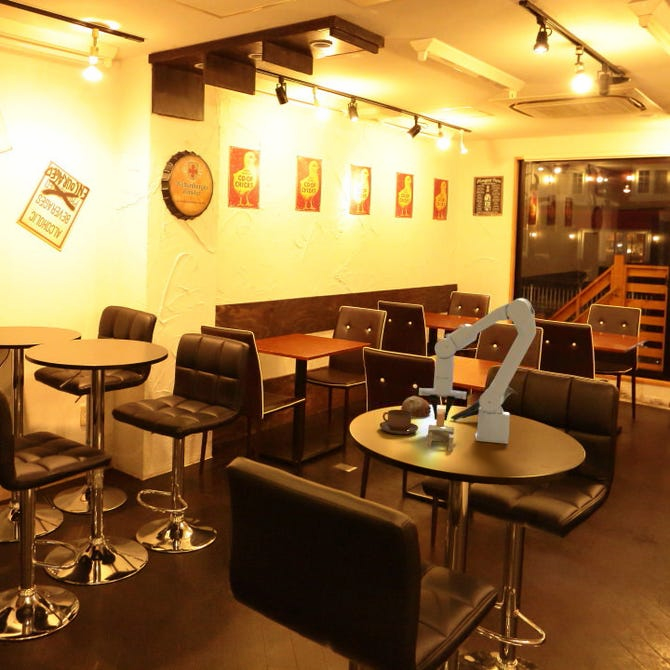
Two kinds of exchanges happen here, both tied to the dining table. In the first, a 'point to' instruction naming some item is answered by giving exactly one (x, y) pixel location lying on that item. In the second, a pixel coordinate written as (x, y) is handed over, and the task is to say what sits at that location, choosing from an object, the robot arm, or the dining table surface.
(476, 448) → the dining table surface
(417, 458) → the dining table surface
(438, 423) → the orange long block
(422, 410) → the bread roll
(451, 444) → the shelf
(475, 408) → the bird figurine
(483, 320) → the robot arm
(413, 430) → the cup and saucer
